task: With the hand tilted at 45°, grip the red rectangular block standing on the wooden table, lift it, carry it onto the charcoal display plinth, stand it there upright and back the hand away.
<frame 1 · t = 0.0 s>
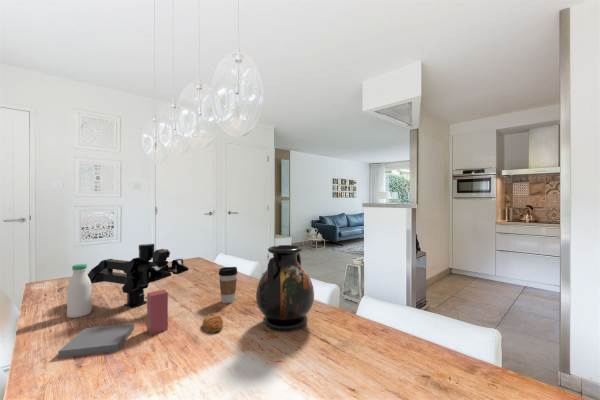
hand: (179, 271, 113), 17 cm above the table, tool horizontal, fingers open, 9 cm apart
display plinth: (100, 342, 88), on the table
coffee cup: (228, 301, 126), on the table
red rectangular block: (157, 329, 97), on the table
amphora vase: (285, 323, 102), on the table
pastry: (213, 327, 99), on the table
milk bottle: (79, 315, 111), on the table
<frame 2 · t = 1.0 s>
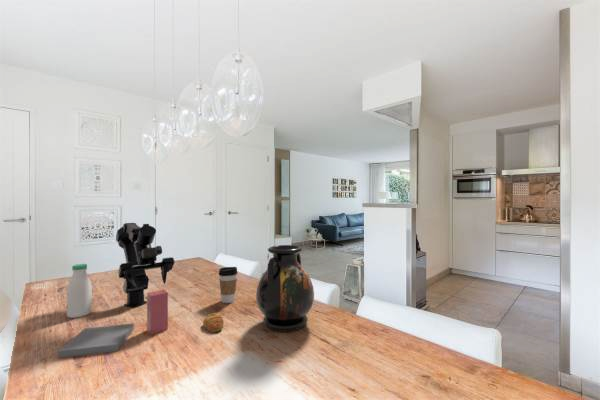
hand: (151, 285, 103), 14 cm above the table, tool tilted 45°, fingers open, 9 cm apart
nothing on the table moved.
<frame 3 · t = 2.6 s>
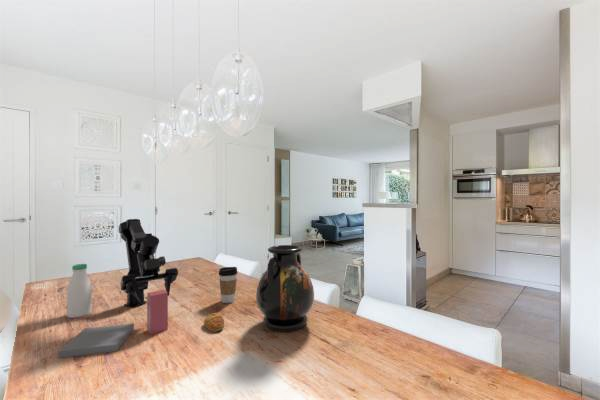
hand: (154, 298, 100), 10 cm above the table, tool tilted 45°, fingers open, 9 cm apart
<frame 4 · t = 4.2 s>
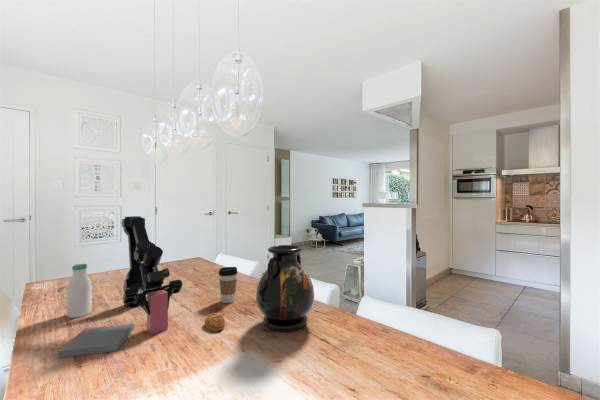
hand: (158, 312, 96), 7 cm above the table, tool tilted 45°, fingers closed on red rectangular block, 5 cm apart
red rectangular block: (157, 329, 97), on the table, touching gripper
everything else where it was.
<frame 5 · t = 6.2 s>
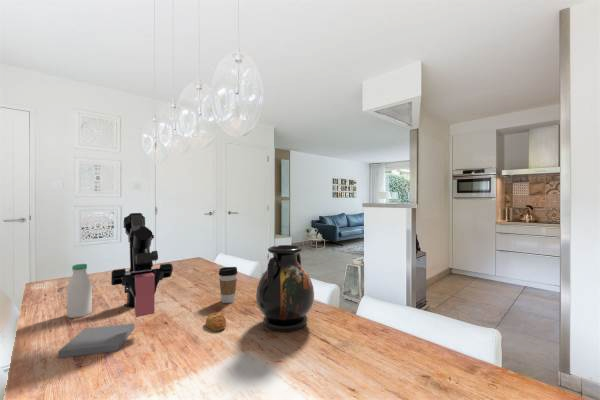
hand: (144, 295, 93), 13 cm above the table, tool tilted 45°, fingers closed on red rectangular block, 5 cm apart
red rectangular block: (144, 313, 94), point 7 cm above the table, touching gripper
when the fingers open (10 cm above the table, at t = 8.5 s): red rectangular block drops 1 cm, resting on display plinth.
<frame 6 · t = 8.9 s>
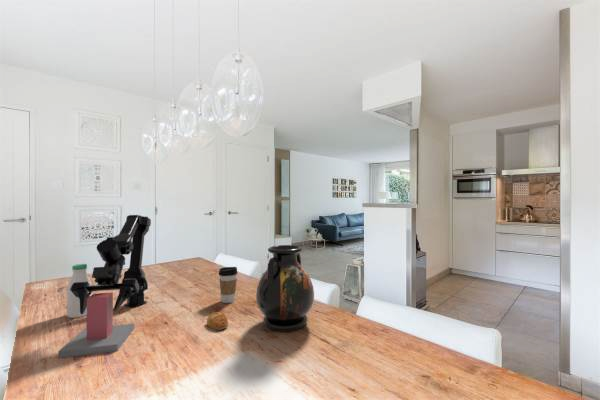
hand: (98, 312, 87), 10 cm above the table, tool tilted 45°, fingers open, 9 cm apart
red rectangular block: (100, 335, 89), point 2 cm above the table, touching display plinth
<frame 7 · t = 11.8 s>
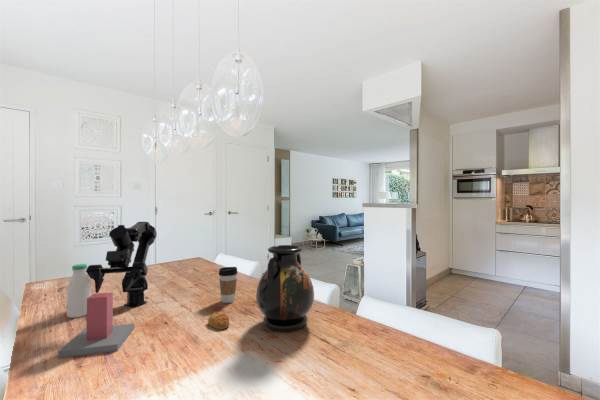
hand: (111, 291, 97), 14 cm above the table, tool tilted 45°, fingers open, 9 cm apart
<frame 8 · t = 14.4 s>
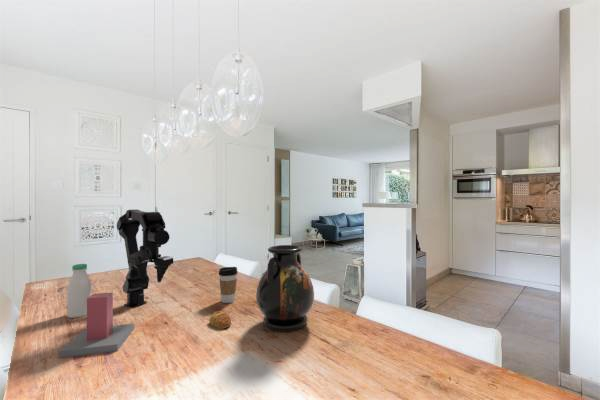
hand: (150, 281, 112), 13 cm above the table, tool pointing down, fingers open, 9 cm apart
at the end: red rectangular block inside the target area on the display plinth (0.0 cm from its centre), point 2.0 cm above the display plinth's base; red rectangular block tilted 0°; the gripper is holding nothing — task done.
